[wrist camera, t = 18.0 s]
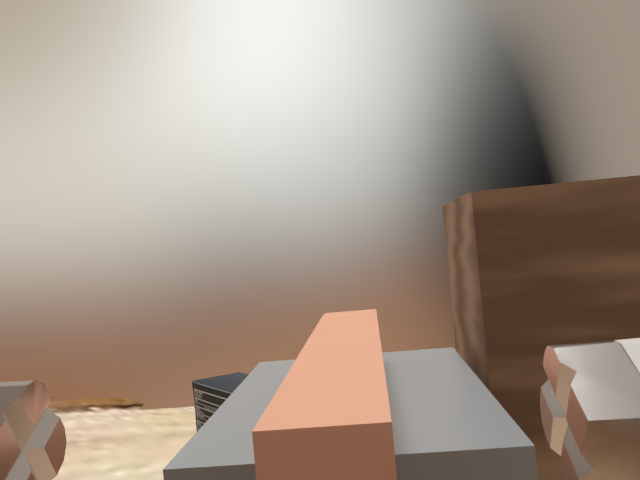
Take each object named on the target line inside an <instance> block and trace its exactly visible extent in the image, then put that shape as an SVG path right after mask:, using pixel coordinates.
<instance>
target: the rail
mask: <svg viewBox="0 0 640 480" xmlns="http://www.w3.org/2000/svg"><path fill="white" fill-rule="evenodd" d="M252 438H253V449H254V460H255V471H256V480H397V473H396V462H395V452H394V441H393V430H392V420H391V413H390V406H389V399H388V392H387V384H386V377H385V370H384V363H383V356H382V349H381V341H380V334H379V327H378V320H377V313H376V309H373V310H360V311H348V312H336V313H324V315H323V316H322V318H321V320H320V321H319V323H318V325H317V326H316V328H315V329H314V331H313V333H312V334H311V336H310V337H309V339H308V341H307V342H306V344H305V346H304V347H303V349H302V351H301V352H300V354H299V355H298V357H297V359H296V360H295V362H294V364H293V365H292V367H291V369H290V370H289V372H288V373H287V375H286V377H285V378H284V380H283V382H282V383H281V385H280V387H279V388H278V390H277V391H276V393H275V395H274V396H273V398H272V400H271V401H270V403H269V404H268V406H267V408H266V409H265V411H264V413H263V414H262V416H261V418H260V419H259V421H258V422H257V424H256V426H255V427H254V429H253V431H252Z"/></svg>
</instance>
